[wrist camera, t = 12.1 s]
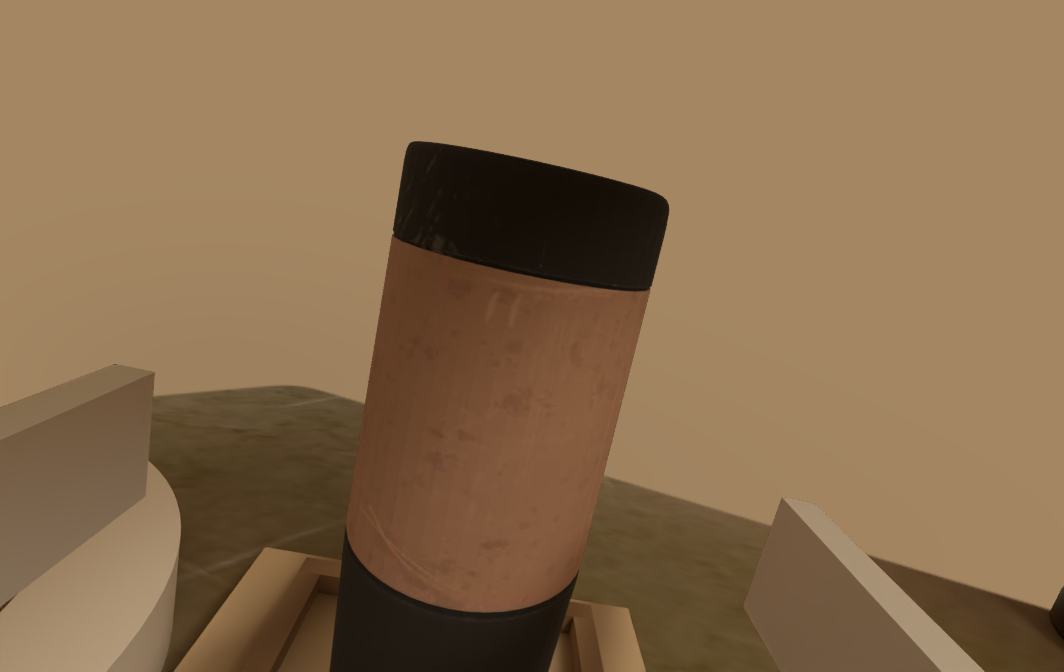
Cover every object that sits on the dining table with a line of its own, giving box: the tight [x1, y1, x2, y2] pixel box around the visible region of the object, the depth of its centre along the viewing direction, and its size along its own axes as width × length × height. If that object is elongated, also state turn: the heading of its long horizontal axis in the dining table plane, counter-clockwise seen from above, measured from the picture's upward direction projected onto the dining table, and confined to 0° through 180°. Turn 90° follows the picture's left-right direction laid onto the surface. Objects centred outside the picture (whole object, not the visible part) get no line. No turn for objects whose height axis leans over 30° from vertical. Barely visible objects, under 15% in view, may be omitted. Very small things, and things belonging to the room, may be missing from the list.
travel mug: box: [329, 141, 669, 672], centre depth 17 cm, size 8×8×20 cm
